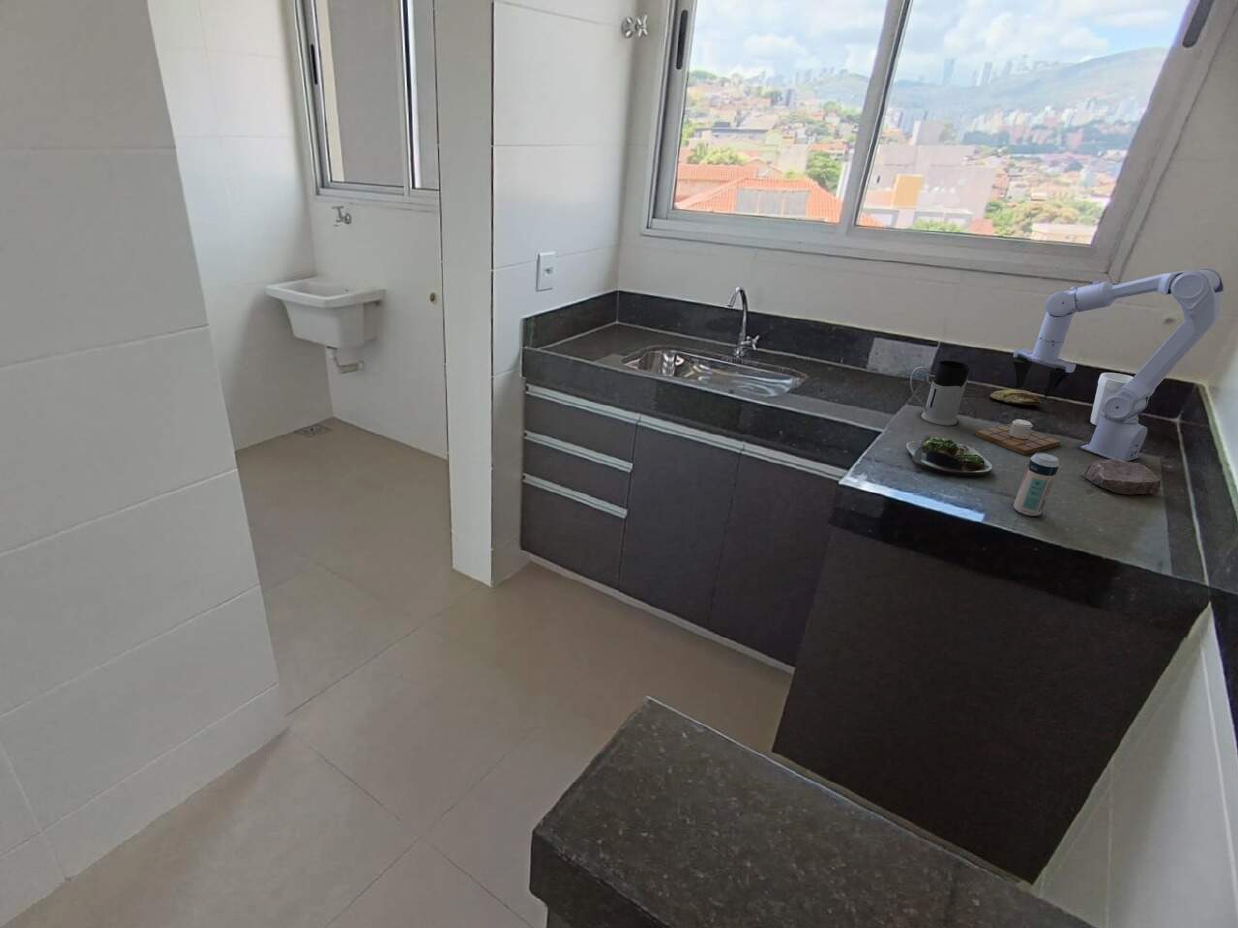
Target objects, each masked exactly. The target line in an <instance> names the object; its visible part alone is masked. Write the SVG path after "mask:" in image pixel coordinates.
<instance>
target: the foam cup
mask: <svg viewBox="0 0 1238 928" xmlns="http://www.w3.org/2000/svg"><path fill="white" fill-rule="evenodd" d="M1133 377H1134V376H1131V375H1128V374H1122V373H1117V372H1102V373H1101V374H1099V378H1098V380H1097V387H1096V391H1095V392H1096V393H1095V398H1094V402H1093V405H1092V410H1091V415H1090V420H1089V421H1090V423H1091V424H1092V425H1095V426H1097V424H1098V422H1099V419H1100V417H1101V414H1102V412H1103V410H1102V404H1103V402H1104V400H1105V399H1106V398H1107V397H1109V396H1110V395H1113V394H1115V393H1117V392H1118V391H1119V390H1120V389H1121V388H1122V387H1123V386H1124V385H1125V384H1127V383H1128V382H1129V381H1130V380H1131V379H1132V378H1133Z"/></svg>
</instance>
